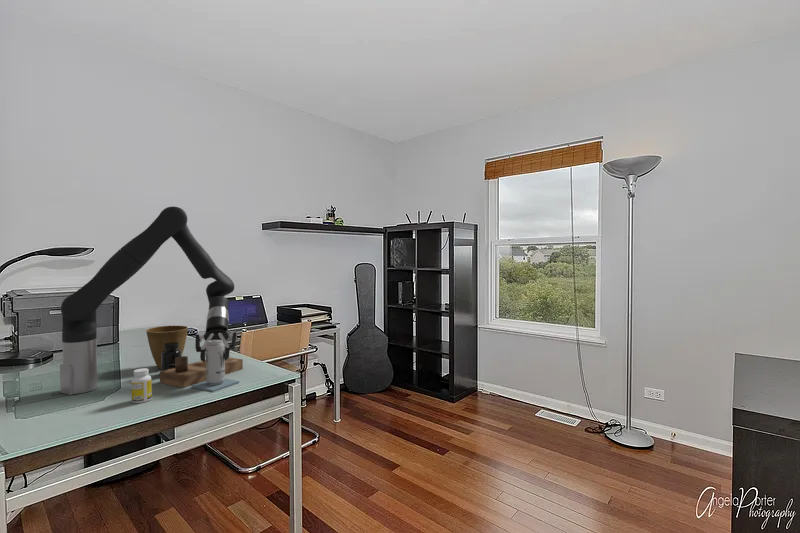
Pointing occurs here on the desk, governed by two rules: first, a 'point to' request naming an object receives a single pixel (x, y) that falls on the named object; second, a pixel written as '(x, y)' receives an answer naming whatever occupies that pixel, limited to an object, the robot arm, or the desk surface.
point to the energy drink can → (215, 362)
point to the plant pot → (165, 339)
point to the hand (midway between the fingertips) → (214, 359)
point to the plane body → (193, 371)
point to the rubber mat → (215, 387)
